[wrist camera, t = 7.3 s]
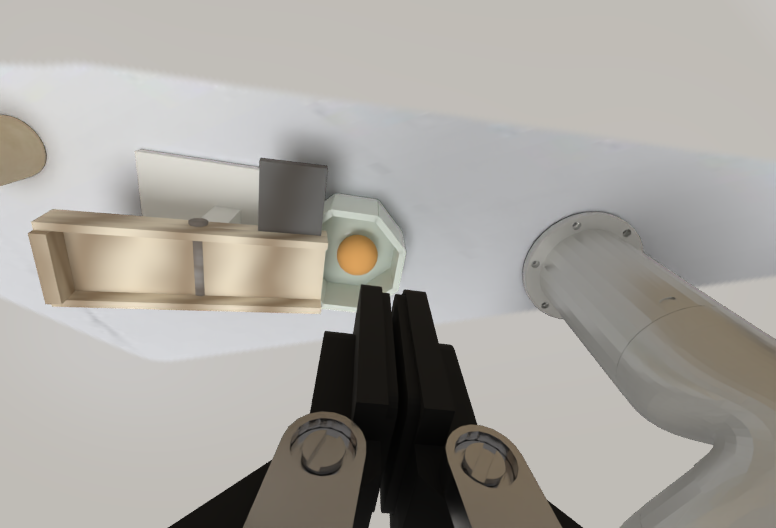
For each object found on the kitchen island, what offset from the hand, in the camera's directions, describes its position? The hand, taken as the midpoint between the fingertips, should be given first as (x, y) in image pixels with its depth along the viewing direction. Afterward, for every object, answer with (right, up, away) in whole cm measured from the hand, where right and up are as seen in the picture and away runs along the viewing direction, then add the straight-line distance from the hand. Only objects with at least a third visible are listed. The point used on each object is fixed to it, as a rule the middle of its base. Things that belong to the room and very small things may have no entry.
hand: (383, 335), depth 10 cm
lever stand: (-16, +6, +29) cm, 33 cm away
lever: (-15, +5, +21) cm, 26 cm away
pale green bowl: (-4, +4, +30) cm, 31 cm away
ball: (-3, +3, +28) cm, 28 cm away
